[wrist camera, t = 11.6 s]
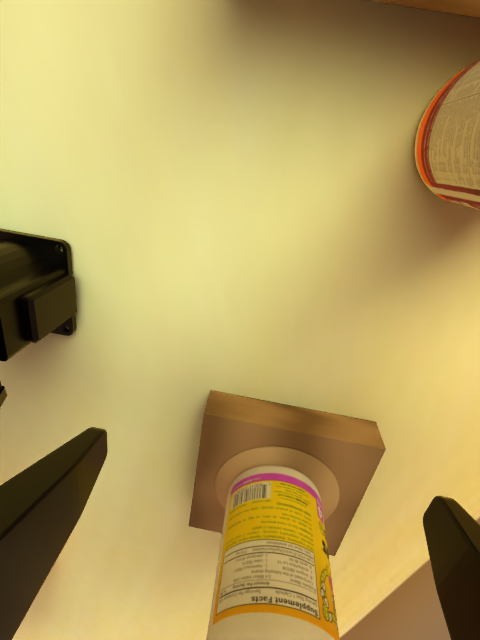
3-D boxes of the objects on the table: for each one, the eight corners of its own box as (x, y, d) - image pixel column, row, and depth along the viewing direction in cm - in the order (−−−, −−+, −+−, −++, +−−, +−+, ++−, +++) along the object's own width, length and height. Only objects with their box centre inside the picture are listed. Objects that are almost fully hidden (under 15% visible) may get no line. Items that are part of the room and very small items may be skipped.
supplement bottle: (301, 531, 26) (320, 826, 15) (219, 508, 26) (172, 789, 14) (335, 475, 23) (391, 789, 12) (242, 448, 23) (207, 741, 11)
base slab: (195, 498, 30) (188, 527, 27) (211, 390, 24) (203, 414, 22) (330, 525, 29) (334, 557, 27) (375, 421, 24) (386, 450, 22)
